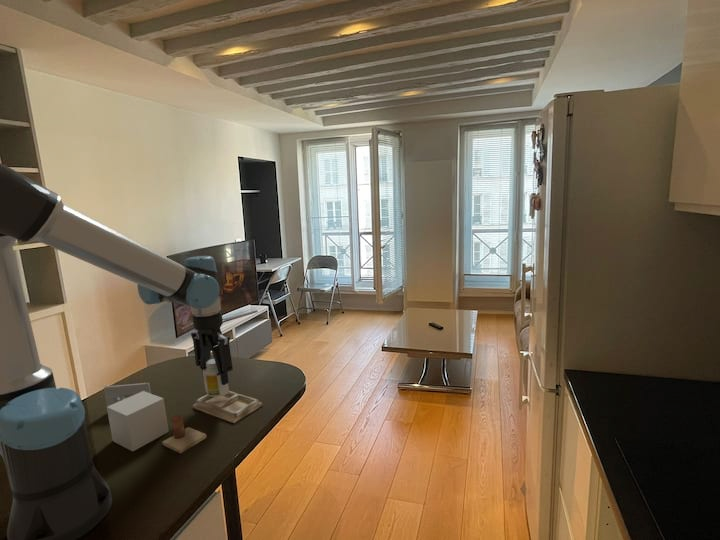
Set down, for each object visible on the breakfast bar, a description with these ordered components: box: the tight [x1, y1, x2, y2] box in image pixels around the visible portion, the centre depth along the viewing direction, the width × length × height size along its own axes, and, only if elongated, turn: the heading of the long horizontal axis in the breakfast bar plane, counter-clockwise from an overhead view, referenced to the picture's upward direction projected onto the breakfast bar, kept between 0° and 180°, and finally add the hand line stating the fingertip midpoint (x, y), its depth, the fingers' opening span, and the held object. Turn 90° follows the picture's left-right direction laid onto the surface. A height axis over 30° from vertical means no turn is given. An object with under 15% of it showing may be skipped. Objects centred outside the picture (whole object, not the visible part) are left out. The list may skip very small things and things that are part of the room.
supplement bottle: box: [204, 358, 219, 397], centre depth 111 cm, size 5×5×10 cm
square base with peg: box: [161, 413, 208, 454], centre depth 95 cm, size 7×7×6 cm
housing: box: [106, 391, 170, 452], centre depth 98 cm, size 9×9×9 cm
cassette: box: [103, 382, 152, 408], centre depth 111 cm, size 12×2×8 cm, turn 95°
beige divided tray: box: [192, 390, 264, 424], centre depth 110 cm, size 10×17×2 cm, turn 58°
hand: (217, 392), depth 112 cm, fingers closed on supplement bottle, 5 cm apart
